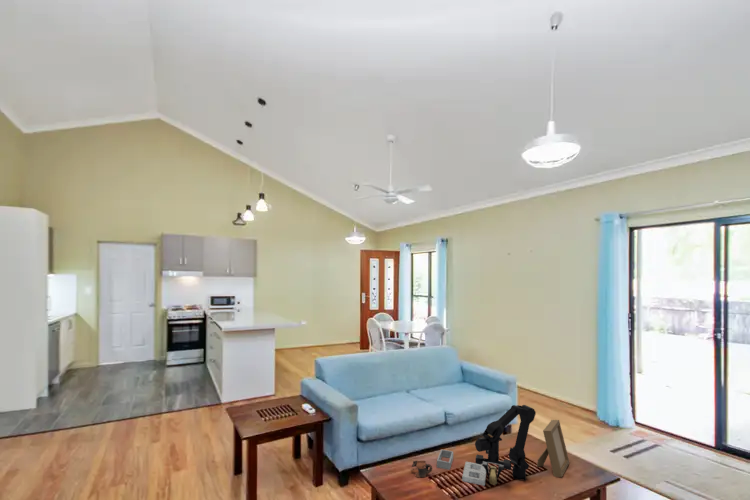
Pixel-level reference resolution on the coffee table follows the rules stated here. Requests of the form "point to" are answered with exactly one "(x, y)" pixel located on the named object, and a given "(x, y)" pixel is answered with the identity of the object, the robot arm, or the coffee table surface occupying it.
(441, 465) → the gray hollow rectangular block
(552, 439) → the photo frame
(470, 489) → the coffee table surface
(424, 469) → the pottery mug
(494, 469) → the pale yellow rod
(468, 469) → the plate
